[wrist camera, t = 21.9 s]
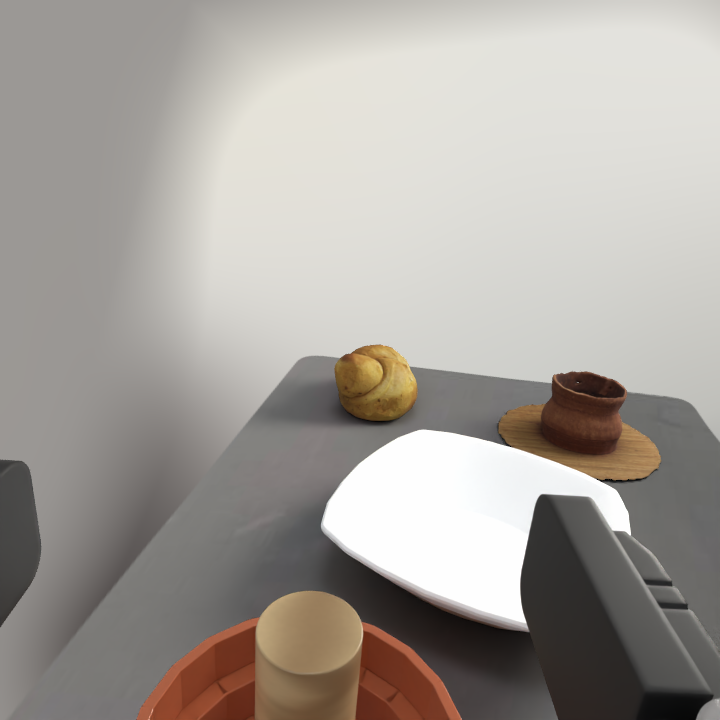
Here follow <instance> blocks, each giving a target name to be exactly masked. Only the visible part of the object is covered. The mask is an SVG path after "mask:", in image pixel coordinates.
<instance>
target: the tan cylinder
mask: <svg viewBox="0 0 720 720" xmlns="http://www.w3.org/2000/svg"><path fill="white" fill-rule="evenodd" d="M362 642H363V627H362V623H361V620H360V618H359V616H358V614H357V613H356V611H355V610H354V609H353V608H352V607H351V606H350V605H349V604H348V603H347V602H345V601H344V600H342V599H340V598H339V597H337V596H334V595H332V594H328V593H325V592H319V591H300V592H295V593H291V594H288V595H285V596H283V597H281V598H279V599H277V600H276V601H274V602H273V603H272V604H270V605H269V606H268V607H267V608H266V609H265V610H264V612H263V613H262V615H261V616H260V618H259V620H258V623H257V626H256V637H255V720H355V716H356V705H357V694H358V684H359V673H360V663H361V652H362Z"/></svg>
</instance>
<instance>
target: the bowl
mask: <svg viewBox="0 0 720 720" xmlns="http://www.w3.org/2000/svg"><path fill="white" fill-rule="evenodd" d="M541 494H553V495H569V496H586V497H590V498H592V499H593V500H594V502H595V503H596V505H597V506H598V508H599V509H600V511H601V513H602V514H603V516H604V517H605V519H606V521H607V522H608V524H609V526H610V527H611V529H612V530H613V531H626V532H627V533H628V534H629V535H630V536H631V534H630V525H629V516H628V512H627V510H626V508H625V506H624V504H623V502H622V500H621V498H620V496H619V494H618V492H617V491H616V490H615V489H613V488H611V487H609V486H608V485H606V484H604V483H602V482H600V481H598V480H596V479H594V478H592V477H590V476H588V475H586V474H584V473H582V472H579V471H577V470H574V469H572V468H569V467H566V466H564V465H561V464H559V463H556V462H554V461H551V460H548V459H545V458H542V457H539V456H536V455H533V454H530V453H527V452H524V451H521V450H519V449H515V448H511V447H508V446H504V445H500V444H496V443H493V442H489V441H485V440H481V439H477V438H472V437H468V436H463V435H458V434H454V433H446V432H438V431H430V430H418V431H416V432H413V433H410V434H407V435H404V436H401V437H399V438H397V439H395V440H393V441H392V442H390V443H388V444H387V445H385V446H383V447H382V448H380V449H378V450H377V451H375V452H374V453H373V454H371V455H370V456H369V457H367V458H366V459H365V460H363V461H362V462H361V463H359V464H358V465H357V466H356V467H355V468H354V469H353V470H352V471H351V473H350V474H349V475H348V476H347V477H346V478H345V479H344V480H343V481H342V482H341V484H340V485H339V487H338V488H337V490H336V491H335V492H334V494H333V495H332V497H331V498H330V499H329V501H328V502H327V505H326V508H325V512H324V515H323V519H322V522H321V530H322V531H323V532H324V534H325V535H327V536H328V537H329V538H330V539H331V540H332V541H333V542H334V543H335V544H336V545H337V546H339V547H340V548H341V549H342V550H343V551H344V552H345V553H346V554H348V555H350V556H351V557H353V558H354V559H356V560H358V561H359V562H361V563H362V564H364V565H366V566H367V567H369V568H370V569H372V570H374V571H375V572H377V573H378V574H380V575H382V576H383V577H385V578H386V579H388V580H390V581H391V582H393V583H394V584H396V585H398V586H399V587H401V588H403V589H405V590H407V591H408V592H410V593H411V594H413V595H415V596H416V597H418V598H419V599H421V600H423V601H425V602H427V603H429V604H431V605H433V606H435V607H437V608H439V609H441V610H443V611H446V612H448V613H451V614H454V615H456V616H459V617H462V618H464V619H467V620H471V621H475V622H478V623H482V624H485V625H489V626H492V627H496V628H500V629H507V630H515V631H525V632H529V629H528V626H527V623H526V620H525V617H524V614H523V610H522V605H521V597H520V576H521V569H522V565H523V560H524V555H525V550H526V546H527V541H528V536H529V531H530V527H531V522H532V517H533V512H534V508H535V504H536V501H537V499H538V497H539V496H540V495H541Z"/></svg>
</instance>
